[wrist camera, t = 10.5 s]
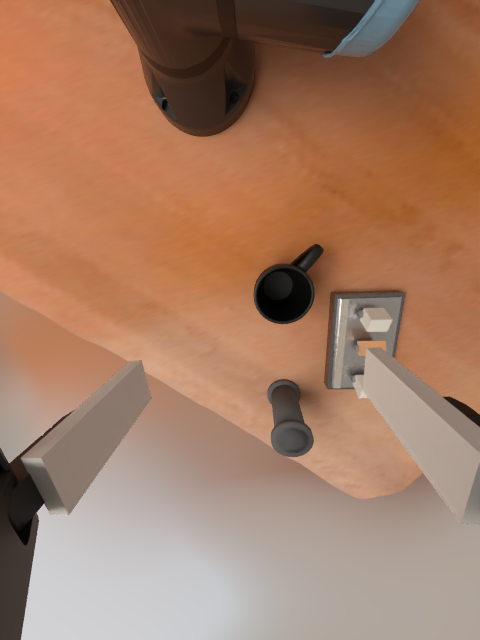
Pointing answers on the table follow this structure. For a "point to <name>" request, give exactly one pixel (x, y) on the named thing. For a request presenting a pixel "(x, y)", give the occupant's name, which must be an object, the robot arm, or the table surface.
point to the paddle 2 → (375, 319)
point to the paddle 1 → (358, 385)
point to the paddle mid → (368, 346)
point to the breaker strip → (356, 333)
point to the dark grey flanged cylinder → (288, 420)
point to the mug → (287, 288)
